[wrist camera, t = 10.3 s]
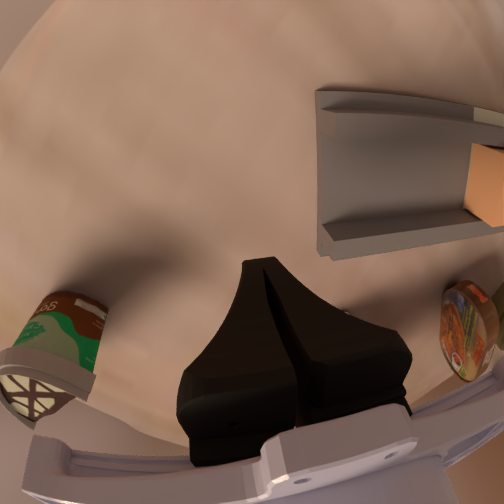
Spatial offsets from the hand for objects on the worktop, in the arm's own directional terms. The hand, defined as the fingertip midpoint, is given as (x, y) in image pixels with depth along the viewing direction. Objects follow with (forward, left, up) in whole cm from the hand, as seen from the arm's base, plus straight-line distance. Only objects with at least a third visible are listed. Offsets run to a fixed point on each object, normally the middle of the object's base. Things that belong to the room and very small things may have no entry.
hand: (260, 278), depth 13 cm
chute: (+1, -16, -9) cm, 19 cm away
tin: (-17, -24, -10) cm, 31 cm away
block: (+1, -22, -8) cm, 24 cm away
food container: (-8, +18, -10) cm, 22 cm away
